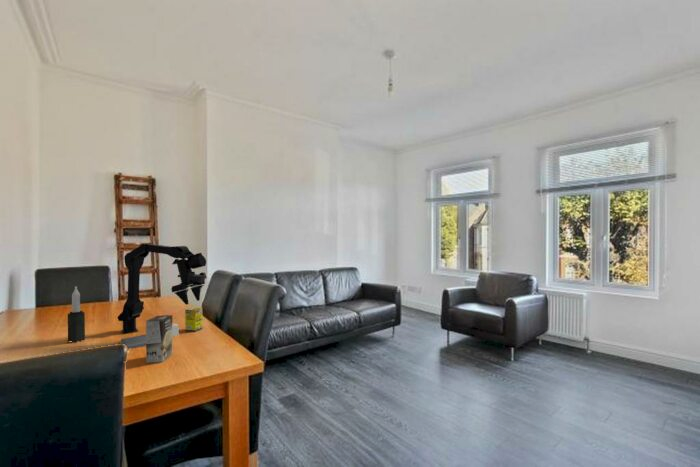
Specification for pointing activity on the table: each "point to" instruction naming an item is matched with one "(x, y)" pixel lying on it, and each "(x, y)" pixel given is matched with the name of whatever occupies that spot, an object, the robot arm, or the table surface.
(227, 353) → the table surface
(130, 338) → the rubber mat
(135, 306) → the robot arm
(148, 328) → the coffee box
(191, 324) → the supplement box
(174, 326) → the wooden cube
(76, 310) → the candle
